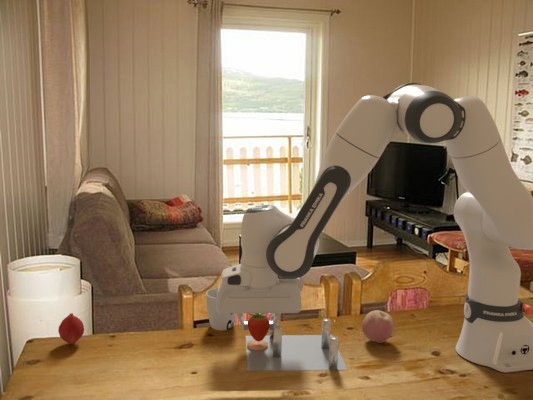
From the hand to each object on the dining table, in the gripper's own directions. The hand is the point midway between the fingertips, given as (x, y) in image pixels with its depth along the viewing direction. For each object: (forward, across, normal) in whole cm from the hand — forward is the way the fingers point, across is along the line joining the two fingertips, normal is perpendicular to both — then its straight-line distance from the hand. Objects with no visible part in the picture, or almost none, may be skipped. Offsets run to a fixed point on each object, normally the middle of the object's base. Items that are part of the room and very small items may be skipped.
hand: (258, 329), depth 132 cm
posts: (+4, -10, +3) cm, 11 cm away
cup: (+6, +9, -12) cm, 16 cm away
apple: (+6, -30, -4) cm, 31 cm away
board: (+5, -8, +3) cm, 10 cm away
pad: (+4, 0, 0) cm, 4 cm away
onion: (+5, +45, -4) cm, 45 cm away
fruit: (+3, 0, 0) cm, 3 cm away
